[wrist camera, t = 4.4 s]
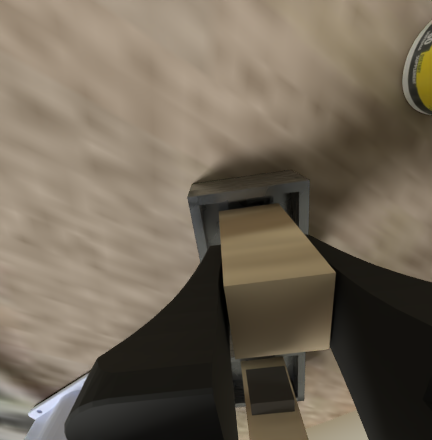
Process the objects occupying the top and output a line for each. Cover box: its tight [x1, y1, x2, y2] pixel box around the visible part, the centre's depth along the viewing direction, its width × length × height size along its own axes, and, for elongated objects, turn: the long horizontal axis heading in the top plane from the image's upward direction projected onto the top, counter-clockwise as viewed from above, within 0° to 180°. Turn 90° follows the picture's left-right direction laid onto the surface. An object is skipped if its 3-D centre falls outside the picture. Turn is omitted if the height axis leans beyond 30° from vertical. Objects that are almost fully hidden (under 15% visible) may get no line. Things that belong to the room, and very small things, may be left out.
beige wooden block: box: [219, 203, 336, 359], centre depth 10 cm, size 4×3×6 cm
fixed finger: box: [241, 357, 308, 440], centre depth 15 cm, size 4×3×6 cm
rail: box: [187, 170, 310, 407], centre depth 16 cm, size 18×6×3 cm, turn 8°
